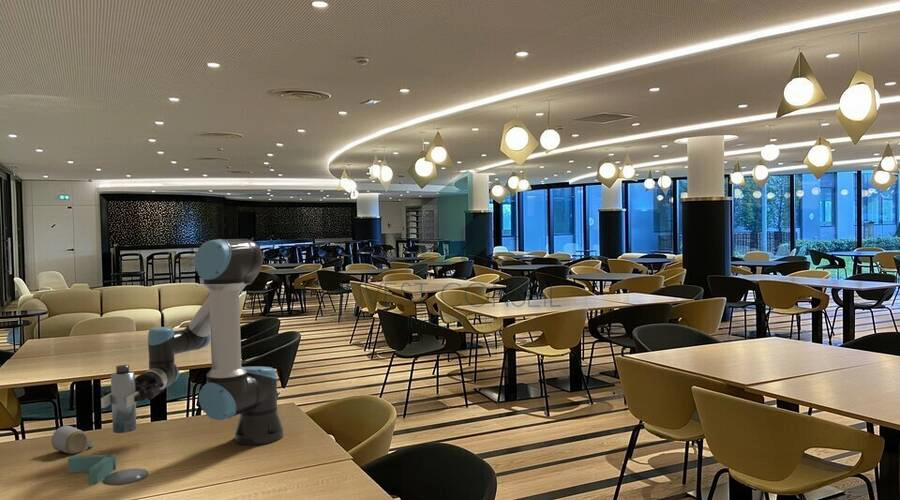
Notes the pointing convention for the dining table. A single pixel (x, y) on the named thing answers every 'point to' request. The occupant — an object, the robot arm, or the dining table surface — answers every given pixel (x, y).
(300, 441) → the dining table surface
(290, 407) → the dining table surface
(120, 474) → the coaster
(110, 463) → the bent rail
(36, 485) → the dining table surface
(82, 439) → the ceramic mug
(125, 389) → the bottle
